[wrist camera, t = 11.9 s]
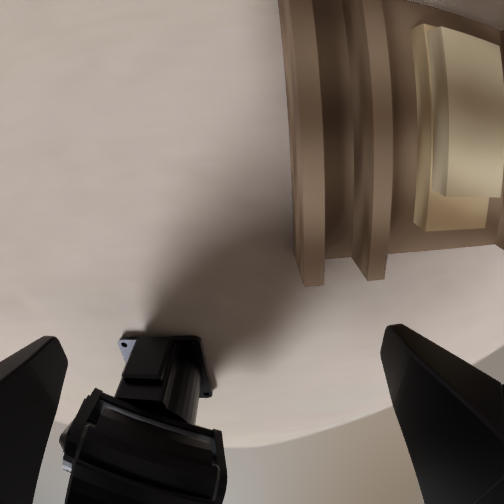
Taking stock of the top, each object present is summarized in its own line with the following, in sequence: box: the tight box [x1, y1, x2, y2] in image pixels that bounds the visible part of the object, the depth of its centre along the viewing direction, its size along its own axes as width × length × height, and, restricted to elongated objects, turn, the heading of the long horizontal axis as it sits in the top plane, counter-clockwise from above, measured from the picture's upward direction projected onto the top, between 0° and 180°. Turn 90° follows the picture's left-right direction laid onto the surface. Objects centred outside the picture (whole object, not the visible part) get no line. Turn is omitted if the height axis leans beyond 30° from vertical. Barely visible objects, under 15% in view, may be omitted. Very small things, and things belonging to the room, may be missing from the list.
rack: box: [278, 0, 504, 287], centre depth 14 cm, size 16×20×4 cm
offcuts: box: [410, 24, 504, 232], centre depth 14 cm, size 12×5×3 cm, turn 4°
